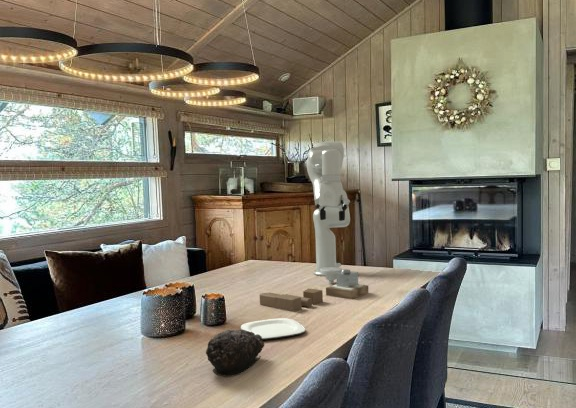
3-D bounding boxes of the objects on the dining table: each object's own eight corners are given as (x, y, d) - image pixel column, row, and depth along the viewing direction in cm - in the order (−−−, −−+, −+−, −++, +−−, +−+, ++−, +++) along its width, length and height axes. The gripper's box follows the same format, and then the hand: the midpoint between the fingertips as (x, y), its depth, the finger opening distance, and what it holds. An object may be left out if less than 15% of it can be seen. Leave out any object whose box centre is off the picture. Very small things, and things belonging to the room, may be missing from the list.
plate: (236, 328, 163) (236, 323, 163) (289, 321, 169) (289, 316, 169) (253, 345, 146) (252, 339, 146) (311, 336, 152) (311, 331, 152)
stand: (343, 289, 212) (343, 281, 211) (368, 293, 204) (368, 284, 204) (326, 295, 202) (325, 286, 202) (351, 299, 195) (351, 290, 195)
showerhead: (319, 269, 219) (320, 265, 229) (320, 286, 220) (320, 281, 229) (341, 268, 218) (341, 264, 228) (342, 285, 219) (342, 280, 229)
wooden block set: (294, 297, 179) (258, 291, 191) (295, 313, 179) (258, 306, 191) (324, 288, 191) (288, 282, 203) (325, 303, 192) (289, 296, 204)
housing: (346, 283, 208) (346, 267, 207) (358, 284, 204) (357, 269, 204) (336, 286, 202) (336, 270, 202) (348, 287, 199) (348, 271, 199)
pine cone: (269, 356, 136) (268, 318, 136) (237, 381, 120) (235, 339, 119) (235, 352, 140) (233, 315, 140) (199, 376, 124) (197, 335, 123)
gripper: (309, 179, 217) (310, 220, 218) (343, 179, 206) (344, 221, 207) (320, 179, 223) (321, 218, 224) (353, 178, 212) (354, 220, 213)
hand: (332, 220), depth 215 cm, fingers open, 9 cm apart
